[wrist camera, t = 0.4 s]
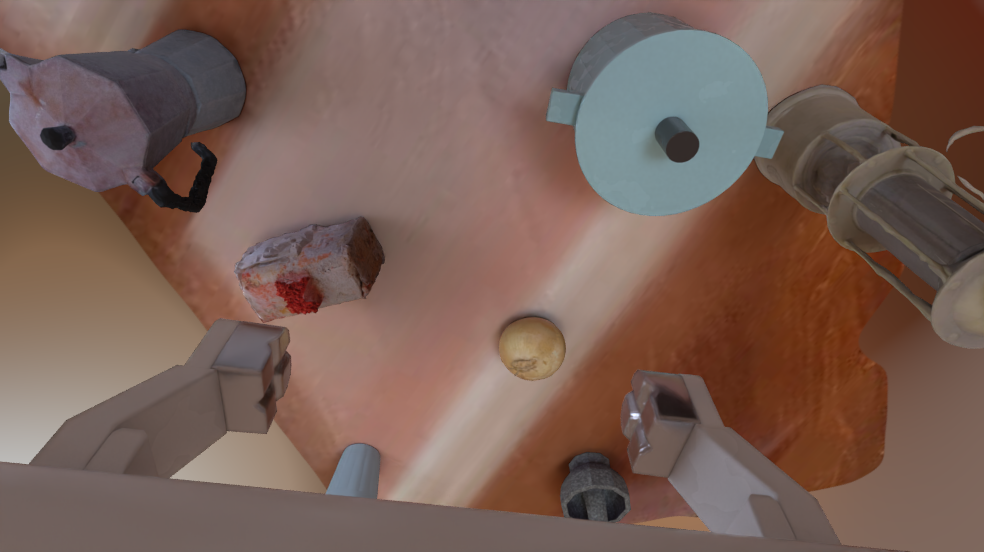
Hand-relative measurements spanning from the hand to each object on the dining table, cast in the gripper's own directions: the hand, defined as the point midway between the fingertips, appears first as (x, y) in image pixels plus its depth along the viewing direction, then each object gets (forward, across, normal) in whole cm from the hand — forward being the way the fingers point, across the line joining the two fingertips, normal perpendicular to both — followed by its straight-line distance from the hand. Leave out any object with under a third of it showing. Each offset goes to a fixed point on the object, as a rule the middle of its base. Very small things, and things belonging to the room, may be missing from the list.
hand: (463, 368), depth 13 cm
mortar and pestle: (+45, -24, +58) cm, 77 cm away
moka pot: (+45, +26, +8) cm, 53 cm away
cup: (+45, +10, +61) cm, 76 cm away
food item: (+45, +16, +26) cm, 54 cm away
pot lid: (+33, -15, +3) cm, 37 cm away
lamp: (+45, -32, +4) cm, 56 cm away
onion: (+45, -10, +34) cm, 58 cm away
